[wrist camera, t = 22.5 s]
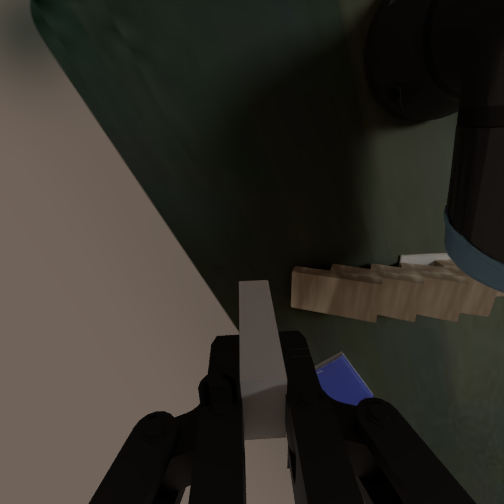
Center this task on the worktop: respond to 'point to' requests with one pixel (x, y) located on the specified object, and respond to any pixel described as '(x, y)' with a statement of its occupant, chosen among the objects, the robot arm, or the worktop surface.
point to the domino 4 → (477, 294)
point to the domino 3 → (436, 292)
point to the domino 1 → (336, 293)
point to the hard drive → (341, 380)
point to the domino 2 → (393, 291)
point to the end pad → (423, 258)
